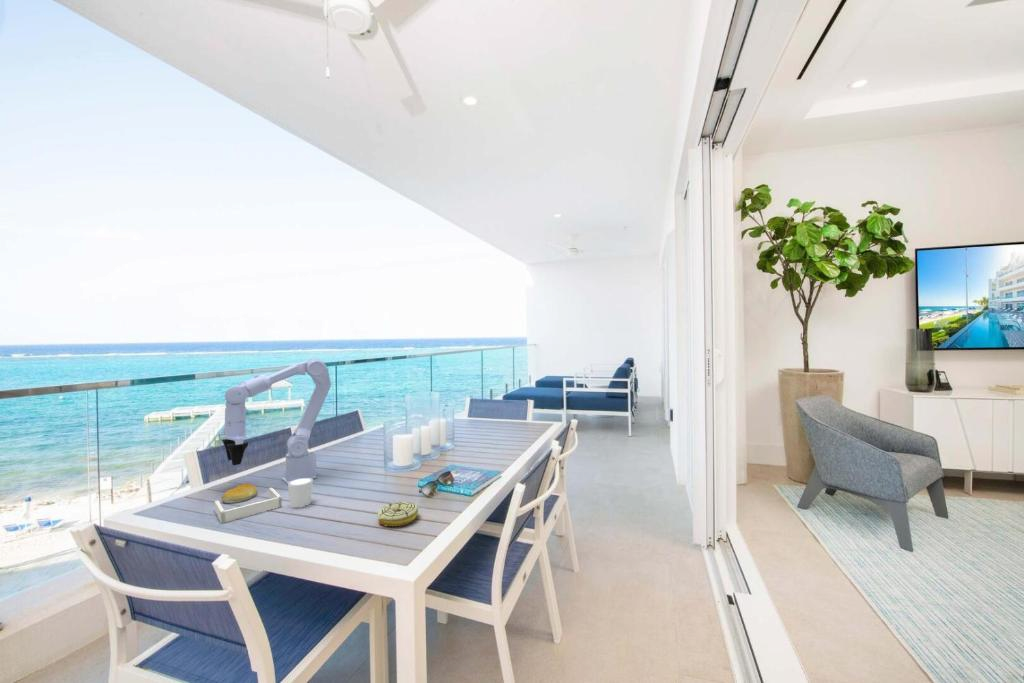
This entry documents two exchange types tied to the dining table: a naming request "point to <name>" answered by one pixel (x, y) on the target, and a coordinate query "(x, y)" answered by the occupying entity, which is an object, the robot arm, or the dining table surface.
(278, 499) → the tray
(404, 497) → the dining table surface
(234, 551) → the dining table surface
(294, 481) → the white short cylinder
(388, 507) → the decorated donut
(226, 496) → the bread roll
